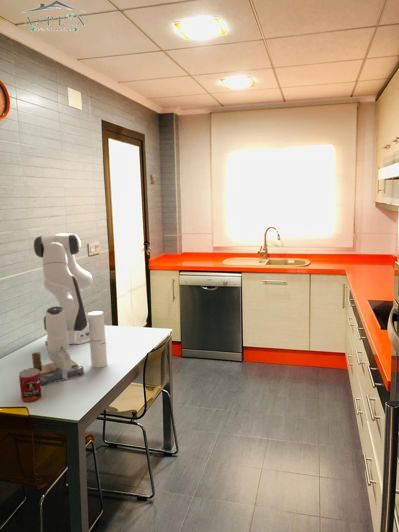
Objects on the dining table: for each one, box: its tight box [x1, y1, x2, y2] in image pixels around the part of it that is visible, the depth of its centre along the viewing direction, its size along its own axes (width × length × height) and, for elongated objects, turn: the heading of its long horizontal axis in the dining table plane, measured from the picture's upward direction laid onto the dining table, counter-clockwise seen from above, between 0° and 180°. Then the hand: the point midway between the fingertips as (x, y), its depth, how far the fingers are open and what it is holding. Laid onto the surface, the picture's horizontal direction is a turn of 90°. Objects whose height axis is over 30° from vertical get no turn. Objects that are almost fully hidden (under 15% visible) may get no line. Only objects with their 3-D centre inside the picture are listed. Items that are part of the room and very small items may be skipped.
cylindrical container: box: [87, 310, 108, 368], centre depth 212 cm, size 7×7×25 cm
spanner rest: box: [24, 351, 79, 376], centre depth 209 cm, size 22×10×9 cm, turn 126°
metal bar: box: [40, 365, 85, 387], centre depth 198 cm, size 20×4×3 cm, turn 126°
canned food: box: [18, 367, 43, 403], centre depth 179 cm, size 8×8×11 cm
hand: (60, 374), depth 198 cm, fingers open, 8 cm apart
